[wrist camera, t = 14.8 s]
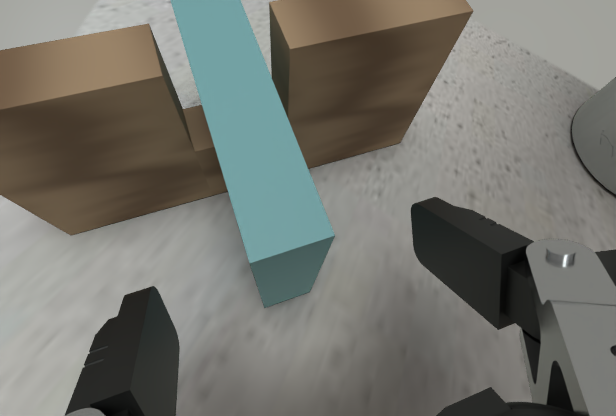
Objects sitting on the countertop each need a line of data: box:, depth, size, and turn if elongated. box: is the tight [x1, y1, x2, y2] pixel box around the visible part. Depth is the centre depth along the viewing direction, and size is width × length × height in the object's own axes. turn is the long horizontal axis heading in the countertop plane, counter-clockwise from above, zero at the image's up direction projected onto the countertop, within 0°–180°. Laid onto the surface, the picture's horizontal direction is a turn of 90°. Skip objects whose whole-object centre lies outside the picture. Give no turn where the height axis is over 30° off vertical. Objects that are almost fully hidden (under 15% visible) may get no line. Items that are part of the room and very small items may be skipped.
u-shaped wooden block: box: [0, 0, 473, 235], centre depth 17 cm, size 20×2×10 cm, turn 110°
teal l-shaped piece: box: [171, 0, 335, 308], centre depth 16 cm, size 14×2×10 cm, turn 20°
